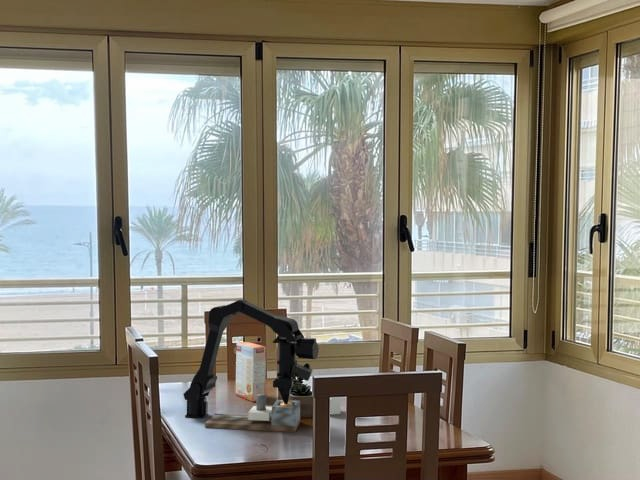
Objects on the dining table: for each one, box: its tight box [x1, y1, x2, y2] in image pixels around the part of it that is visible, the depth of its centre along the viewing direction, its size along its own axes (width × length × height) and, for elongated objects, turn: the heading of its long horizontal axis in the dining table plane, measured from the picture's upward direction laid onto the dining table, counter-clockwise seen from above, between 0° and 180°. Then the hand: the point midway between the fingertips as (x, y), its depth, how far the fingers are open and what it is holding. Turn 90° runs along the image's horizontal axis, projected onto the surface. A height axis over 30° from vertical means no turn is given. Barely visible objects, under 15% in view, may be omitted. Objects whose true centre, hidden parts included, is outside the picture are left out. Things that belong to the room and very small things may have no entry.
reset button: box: [280, 402, 292, 406], centre depth 235 cm, size 4×4×2 cm
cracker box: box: [234, 341, 267, 402], centre depth 274 cm, size 14×6×21 cm, turn 35°
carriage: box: [247, 393, 272, 421], centre depth 236 cm, size 7×9×7 cm
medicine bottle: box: [330, 397, 342, 416], centre depth 253 cm, size 7×7×12 cm
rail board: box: [204, 399, 301, 433], centre depth 236 cm, size 30×12×8 cm, turn 84°
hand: (286, 403), depth 235 cm, fingers closed, pressing on reset button
